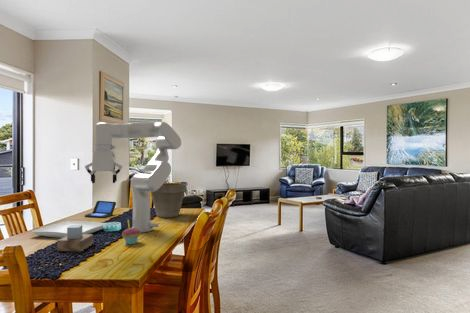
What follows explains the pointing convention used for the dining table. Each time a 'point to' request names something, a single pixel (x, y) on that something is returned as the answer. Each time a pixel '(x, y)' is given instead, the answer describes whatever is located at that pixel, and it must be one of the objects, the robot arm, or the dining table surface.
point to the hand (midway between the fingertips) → (103, 182)
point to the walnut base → (75, 243)
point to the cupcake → (131, 234)
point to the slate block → (74, 232)
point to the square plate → (61, 228)
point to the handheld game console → (102, 209)
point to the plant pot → (168, 199)
